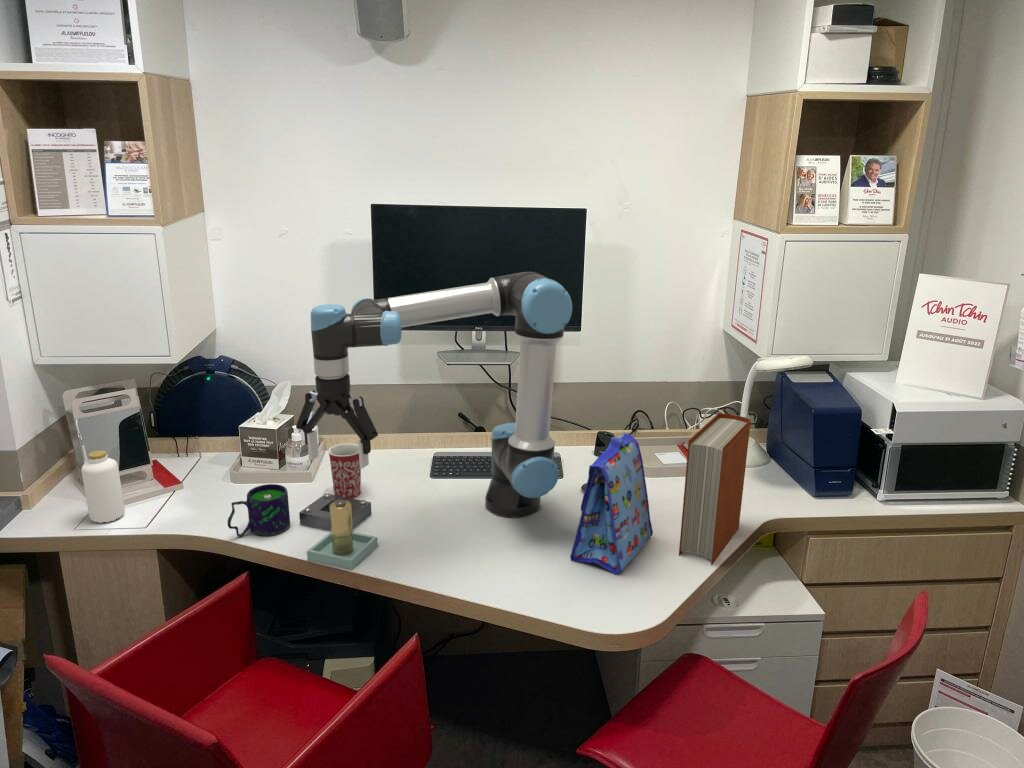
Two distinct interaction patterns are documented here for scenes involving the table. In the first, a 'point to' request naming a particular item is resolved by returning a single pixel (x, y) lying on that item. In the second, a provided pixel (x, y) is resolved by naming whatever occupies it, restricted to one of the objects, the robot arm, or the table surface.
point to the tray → (325, 555)
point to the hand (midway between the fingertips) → (338, 462)
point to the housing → (320, 512)
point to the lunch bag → (614, 508)
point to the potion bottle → (102, 488)
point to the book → (714, 485)
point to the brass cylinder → (341, 527)
